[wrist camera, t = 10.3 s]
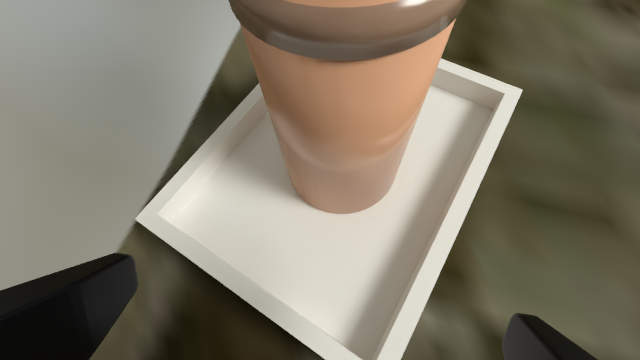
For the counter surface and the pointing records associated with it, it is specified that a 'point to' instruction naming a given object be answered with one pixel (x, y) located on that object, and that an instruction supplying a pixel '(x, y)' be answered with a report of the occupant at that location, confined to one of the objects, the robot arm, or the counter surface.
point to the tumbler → (345, 87)
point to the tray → (335, 220)
